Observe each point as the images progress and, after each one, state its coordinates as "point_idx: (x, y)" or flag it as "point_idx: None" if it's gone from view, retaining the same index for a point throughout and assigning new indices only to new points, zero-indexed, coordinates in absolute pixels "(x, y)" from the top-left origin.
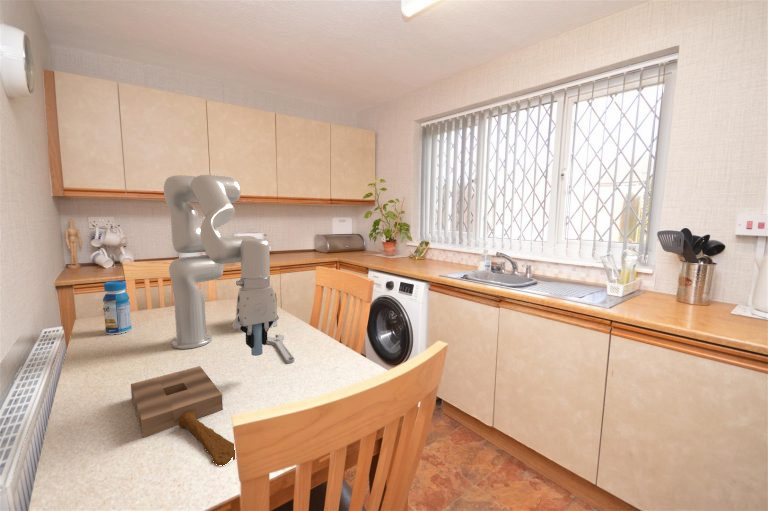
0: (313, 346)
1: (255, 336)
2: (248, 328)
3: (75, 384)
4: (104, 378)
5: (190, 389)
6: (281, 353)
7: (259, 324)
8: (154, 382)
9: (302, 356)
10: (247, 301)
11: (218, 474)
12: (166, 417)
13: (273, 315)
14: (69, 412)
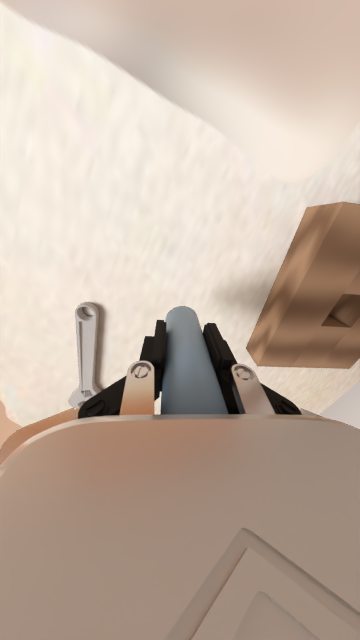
0: (13, 341)
1: (204, 353)
2: (264, 399)
3: (320, 407)
4: (299, 405)
5: (341, 289)
6: (95, 349)
7: (194, 411)
8: (334, 354)
9: (53, 315)
10: None
11: None
12: None
13: (16, 506)
14: None
